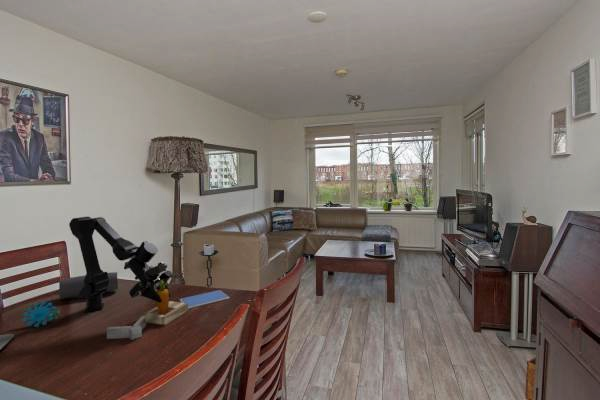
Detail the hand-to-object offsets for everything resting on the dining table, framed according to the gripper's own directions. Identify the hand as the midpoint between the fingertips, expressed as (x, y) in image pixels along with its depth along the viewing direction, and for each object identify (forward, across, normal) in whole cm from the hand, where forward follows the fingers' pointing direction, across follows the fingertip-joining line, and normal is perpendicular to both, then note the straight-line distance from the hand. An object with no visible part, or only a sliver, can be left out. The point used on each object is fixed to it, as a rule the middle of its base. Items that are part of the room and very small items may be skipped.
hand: (165, 299), depth 126 cm
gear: (-25, -16, +36) cm, 47 cm away
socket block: (+4, +2, +6) cm, 8 cm away
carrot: (+4, 0, +6) cm, 8 cm away
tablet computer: (+8, +22, +4) cm, 23 cm away
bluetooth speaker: (-31, +12, +42) cm, 54 cm away
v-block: (+3, -14, +7) cm, 17 cm away
